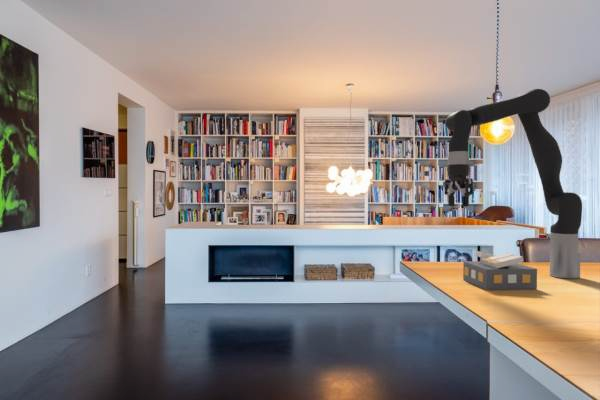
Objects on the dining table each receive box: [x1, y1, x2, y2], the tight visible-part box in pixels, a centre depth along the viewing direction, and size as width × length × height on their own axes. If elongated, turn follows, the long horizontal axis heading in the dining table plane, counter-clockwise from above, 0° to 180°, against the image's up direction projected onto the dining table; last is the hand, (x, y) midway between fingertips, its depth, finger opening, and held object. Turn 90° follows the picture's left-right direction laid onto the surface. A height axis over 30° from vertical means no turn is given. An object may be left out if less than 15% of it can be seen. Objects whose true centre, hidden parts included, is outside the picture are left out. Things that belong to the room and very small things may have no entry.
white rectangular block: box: [475, 250, 497, 259], centre depth 149 cm, size 10×4×2 cm, turn 94°
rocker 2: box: [489, 254, 525, 269], centre depth 139 cm, size 10×4×2 cm, turn 94°
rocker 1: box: [481, 252, 515, 266], centre depth 144 cm, size 10×4×2 cm, turn 94°
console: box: [462, 260, 538, 291], centre depth 144 cm, size 18×16×8 cm
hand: (458, 206), depth 154 cm, fingers open, 8 cm apart
